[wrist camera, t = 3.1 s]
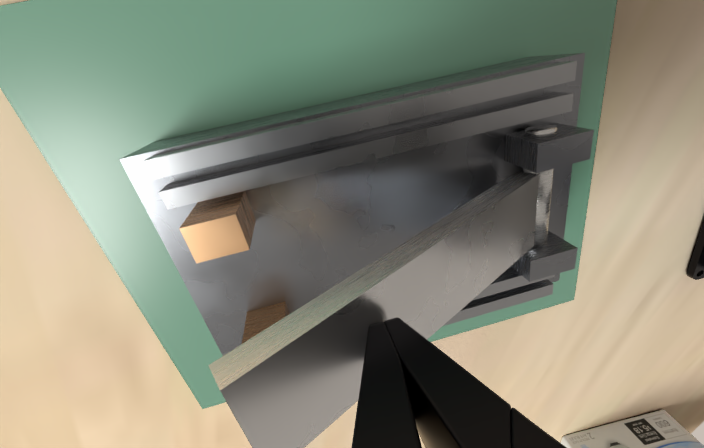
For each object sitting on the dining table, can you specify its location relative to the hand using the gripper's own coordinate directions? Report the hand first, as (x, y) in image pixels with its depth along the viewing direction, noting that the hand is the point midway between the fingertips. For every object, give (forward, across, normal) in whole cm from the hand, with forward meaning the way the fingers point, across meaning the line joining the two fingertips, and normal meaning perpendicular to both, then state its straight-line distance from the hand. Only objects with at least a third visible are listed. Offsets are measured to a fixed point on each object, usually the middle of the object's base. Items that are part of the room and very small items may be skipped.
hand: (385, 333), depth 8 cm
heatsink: (+8, -2, 0) cm, 9 cm away
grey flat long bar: (+2, -1, 0) cm, 2 cm away
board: (+8, -2, 0) cm, 9 cm away
